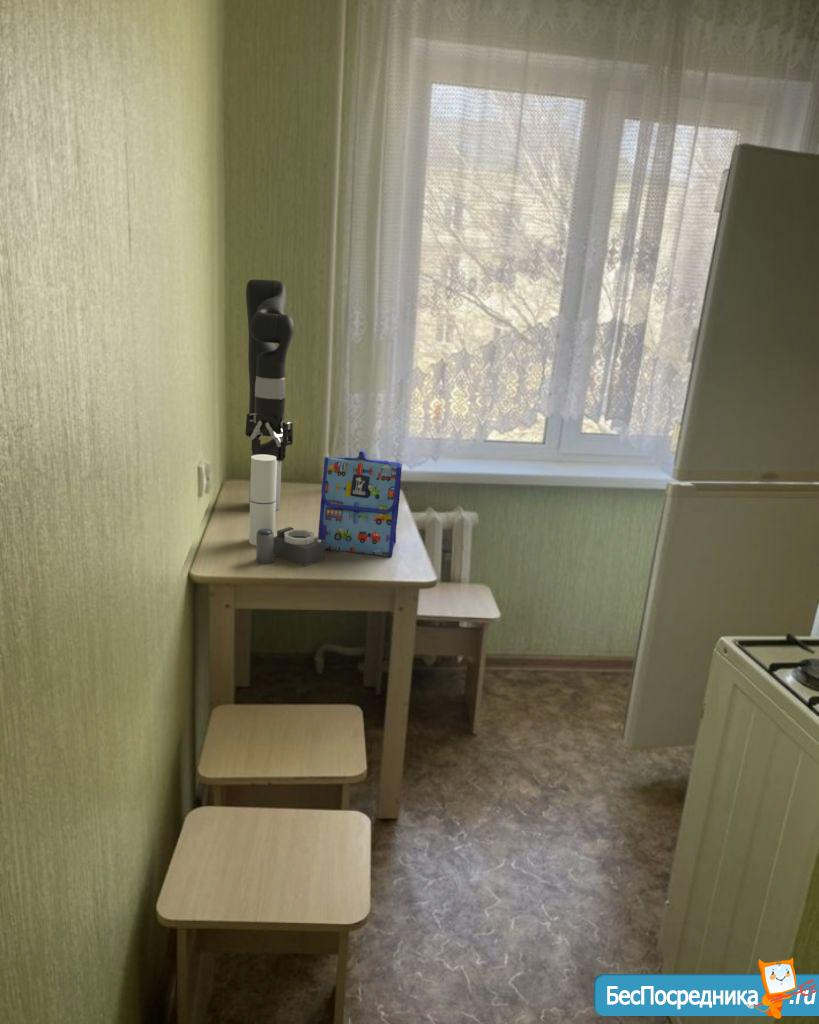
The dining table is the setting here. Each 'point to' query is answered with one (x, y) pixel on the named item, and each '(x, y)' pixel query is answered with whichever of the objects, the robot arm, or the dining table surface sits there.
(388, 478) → the lunch bag
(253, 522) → the cylindrical container
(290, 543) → the camera body
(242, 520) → the dining table surface
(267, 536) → the lens
